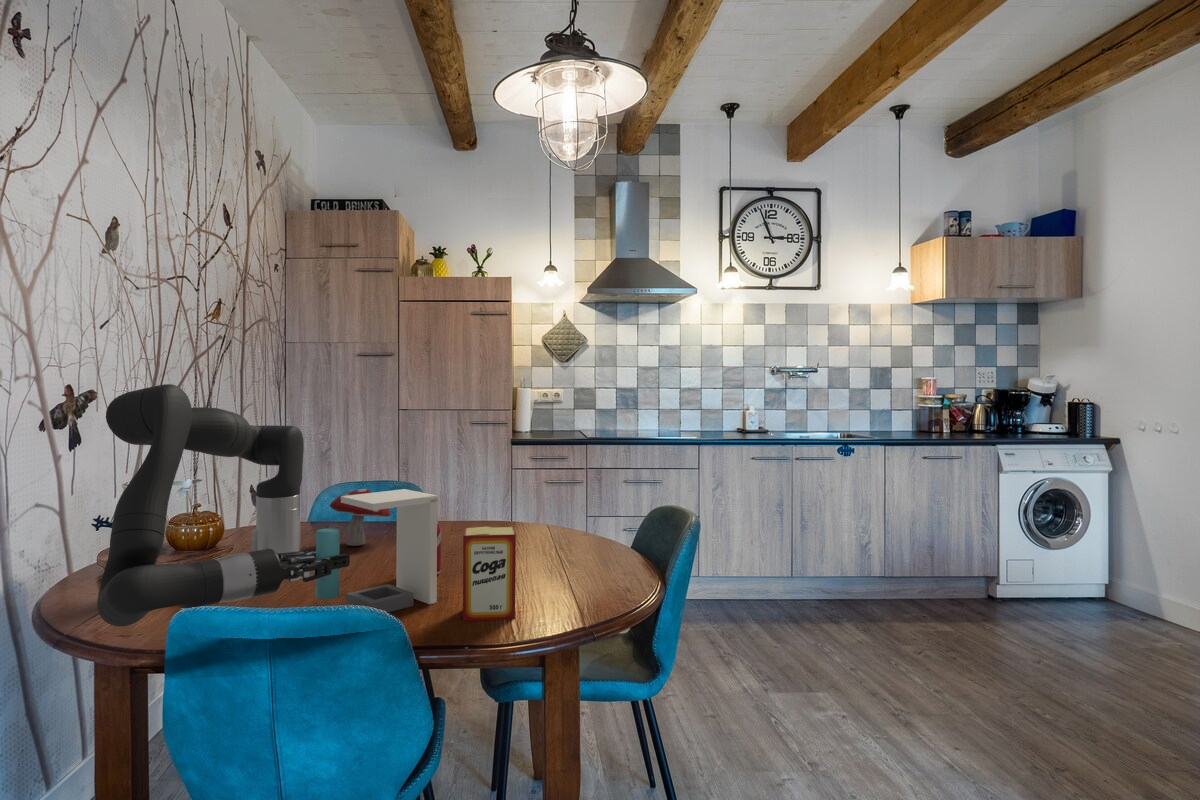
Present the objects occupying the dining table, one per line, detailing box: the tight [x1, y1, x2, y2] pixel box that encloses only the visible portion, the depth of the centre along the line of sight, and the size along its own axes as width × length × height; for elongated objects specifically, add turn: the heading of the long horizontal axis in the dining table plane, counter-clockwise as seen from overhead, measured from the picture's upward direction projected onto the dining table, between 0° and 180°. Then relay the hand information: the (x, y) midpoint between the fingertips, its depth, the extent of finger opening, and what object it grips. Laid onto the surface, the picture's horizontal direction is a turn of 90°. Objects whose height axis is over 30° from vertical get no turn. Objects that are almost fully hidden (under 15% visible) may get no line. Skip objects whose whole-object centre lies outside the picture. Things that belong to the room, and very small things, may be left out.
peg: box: [315, 527, 341, 600], centre depth 126 cm, size 4×4×12 cm
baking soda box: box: [462, 526, 517, 622], centre depth 130 cm, size 10×6×16 cm
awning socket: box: [340, 488, 439, 613], centre depth 136 cm, size 14×12×21 cm
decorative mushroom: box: [329, 488, 392, 547], centre depth 185 cm, size 16×16×15 cm
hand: (342, 557), depth 129 cm, fingers closed on peg, 4 cm apart
